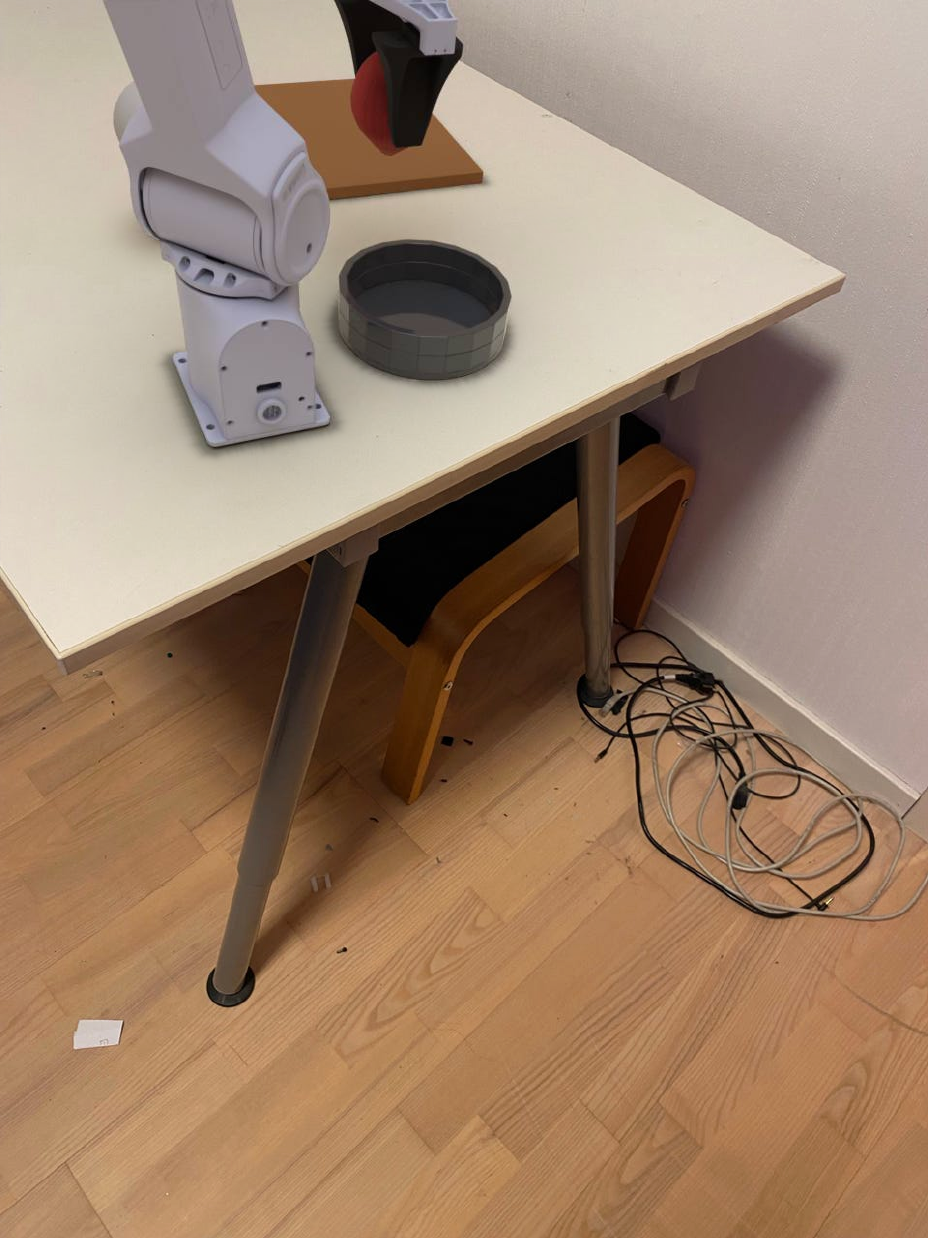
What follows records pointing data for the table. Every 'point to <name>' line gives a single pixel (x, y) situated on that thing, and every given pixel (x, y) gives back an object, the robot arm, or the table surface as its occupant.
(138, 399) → the table surface
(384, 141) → the onion
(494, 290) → the pan
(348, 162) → the mat
